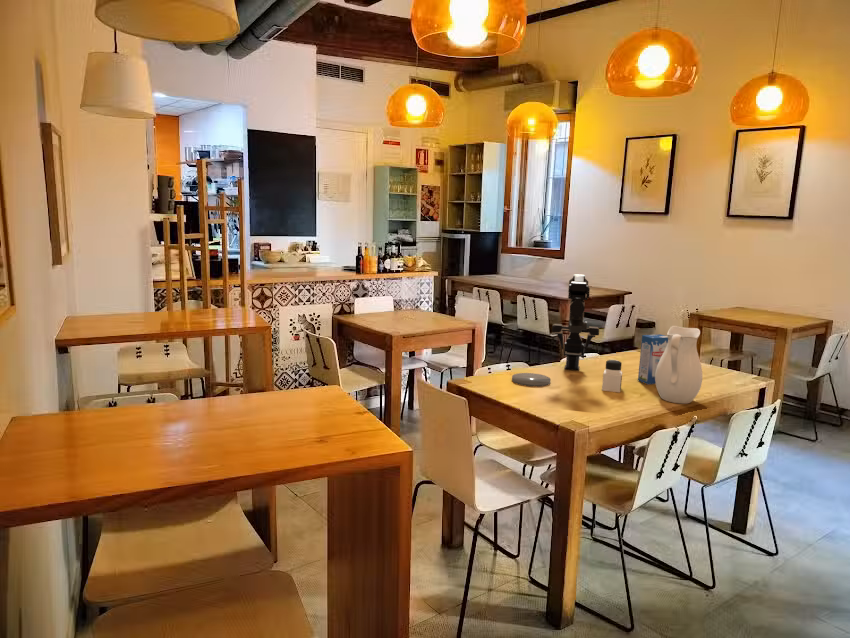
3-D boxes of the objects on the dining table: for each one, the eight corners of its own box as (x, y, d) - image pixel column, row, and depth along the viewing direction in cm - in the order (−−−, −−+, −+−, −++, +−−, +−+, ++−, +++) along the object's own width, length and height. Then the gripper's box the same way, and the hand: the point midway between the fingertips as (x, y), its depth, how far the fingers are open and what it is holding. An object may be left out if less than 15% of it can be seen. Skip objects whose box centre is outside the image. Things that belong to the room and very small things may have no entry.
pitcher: (659, 390, 257) (666, 323, 252) (703, 399, 247) (711, 329, 242) (642, 404, 237) (649, 331, 232) (689, 413, 228) (698, 338, 223)
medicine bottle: (620, 392, 252) (622, 363, 250) (601, 390, 254) (604, 361, 252) (620, 388, 258) (623, 359, 256) (602, 386, 261) (605, 357, 259)
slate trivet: (514, 374, 274) (514, 371, 273) (551, 378, 270) (552, 375, 269) (509, 384, 259) (509, 380, 258) (548, 388, 254) (549, 384, 254)
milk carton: (656, 379, 275) (660, 334, 272) (666, 382, 269) (671, 337, 266) (637, 380, 271) (642, 335, 268) (647, 384, 266) (652, 338, 262)
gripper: (552, 313, 252) (549, 351, 254) (600, 316, 248) (597, 355, 250) (553, 310, 263) (551, 347, 265) (600, 313, 258) (596, 351, 260)
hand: (573, 350), depth 259 cm, fingers open, 9 cm apart
